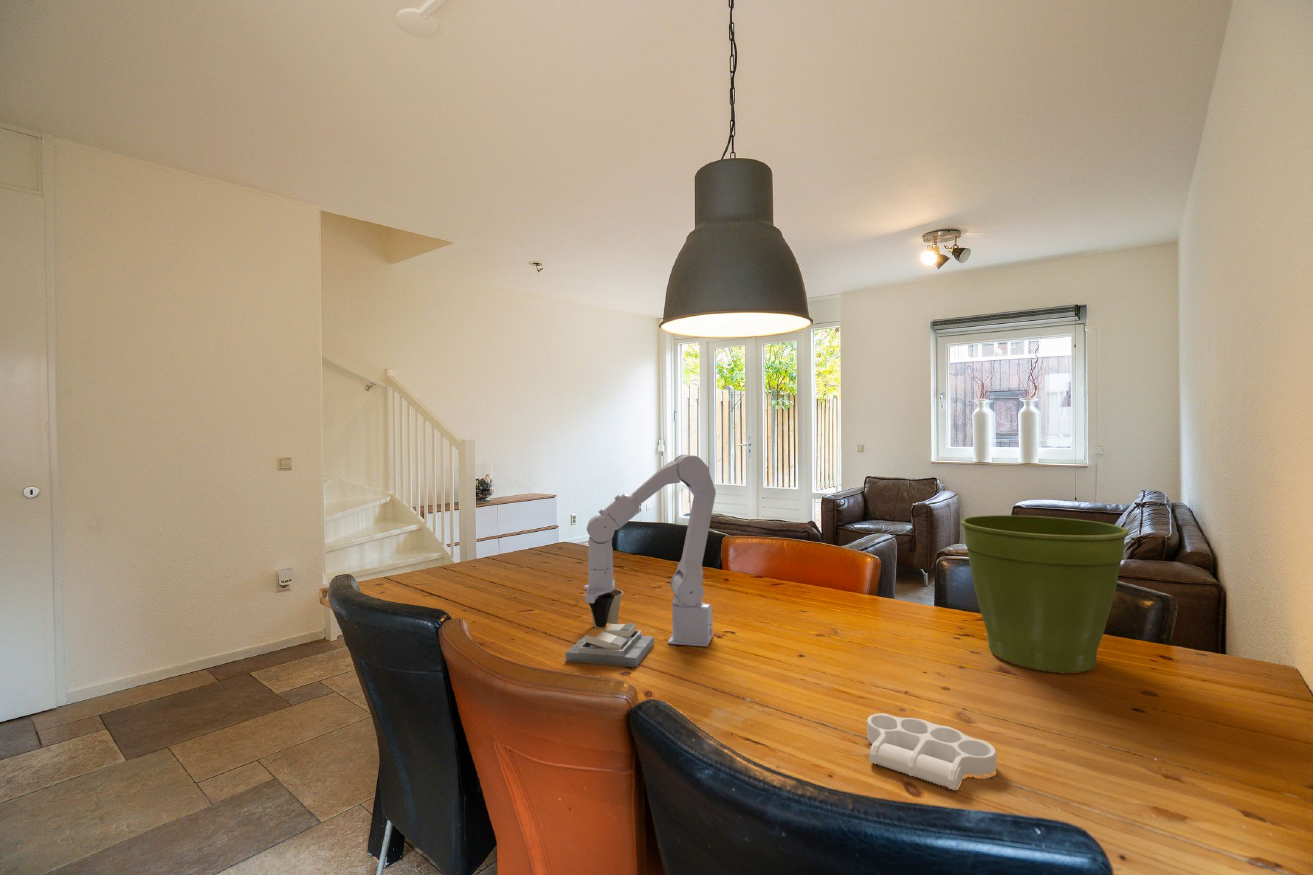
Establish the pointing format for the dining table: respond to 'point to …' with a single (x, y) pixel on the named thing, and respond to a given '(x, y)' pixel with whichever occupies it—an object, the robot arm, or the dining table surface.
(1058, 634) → the plant pot
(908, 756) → the knuckle duster
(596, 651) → the panel
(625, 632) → the block
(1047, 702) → the dining table surface
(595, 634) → the breaker
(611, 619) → the flower pot
